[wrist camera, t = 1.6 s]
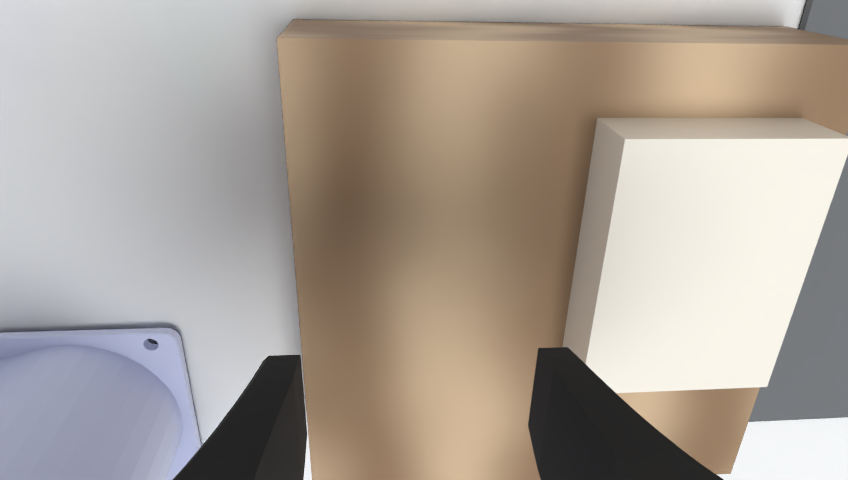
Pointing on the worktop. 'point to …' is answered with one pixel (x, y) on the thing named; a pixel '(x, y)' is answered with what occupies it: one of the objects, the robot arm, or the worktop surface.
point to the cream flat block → (697, 247)
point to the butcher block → (487, 218)
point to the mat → (817, 297)
